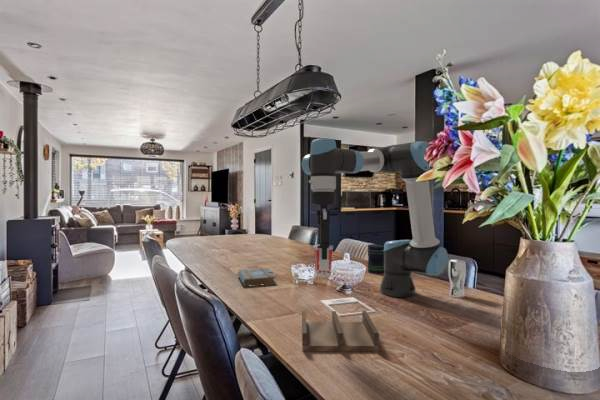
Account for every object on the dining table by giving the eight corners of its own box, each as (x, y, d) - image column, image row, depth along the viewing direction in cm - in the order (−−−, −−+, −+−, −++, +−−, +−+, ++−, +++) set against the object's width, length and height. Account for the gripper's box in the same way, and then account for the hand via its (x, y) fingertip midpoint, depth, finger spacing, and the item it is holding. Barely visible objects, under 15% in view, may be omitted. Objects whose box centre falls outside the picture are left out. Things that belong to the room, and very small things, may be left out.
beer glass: (461, 299, 141) (461, 262, 141) (445, 295, 147) (445, 260, 146) (468, 295, 146) (469, 260, 146) (452, 292, 151) (453, 258, 151)
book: (237, 277, 181) (237, 268, 181) (268, 275, 186) (268, 266, 186) (243, 288, 161) (242, 277, 161) (277, 285, 166) (277, 274, 166)
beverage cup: (337, 276, 102) (337, 229, 102) (320, 279, 99) (320, 230, 98) (325, 272, 107) (325, 228, 107) (309, 274, 104) (309, 228, 104)
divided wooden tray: (366, 326, 112) (366, 311, 112) (378, 351, 94) (378, 333, 94) (302, 326, 112) (301, 311, 112) (302, 351, 94) (302, 333, 94)
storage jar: (375, 269, 199) (375, 243, 199) (389, 272, 192) (389, 245, 191) (364, 271, 193) (363, 245, 193) (378, 274, 185) (378, 247, 185)
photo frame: (353, 296, 143) (375, 310, 126) (353, 299, 143) (375, 313, 126) (320, 300, 138) (339, 314, 121) (320, 302, 138) (339, 317, 121)
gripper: (309, 191, 112) (309, 261, 112) (312, 190, 93) (312, 275, 93) (332, 191, 112) (332, 261, 112) (339, 190, 93) (339, 275, 93)
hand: (323, 267), depth 103 cm, fingers closed on beverage cup, 6 cm apart
